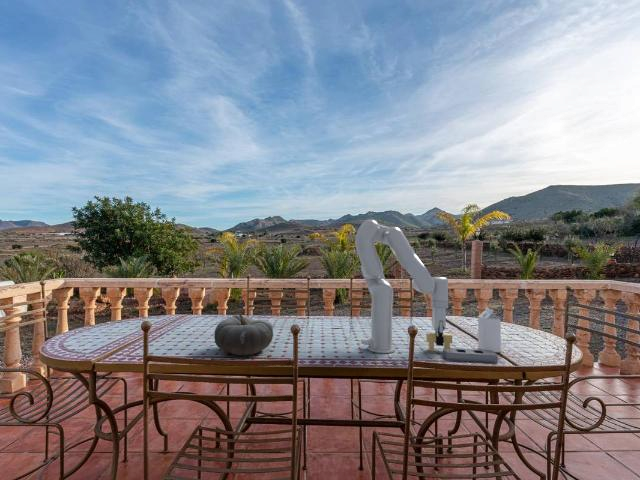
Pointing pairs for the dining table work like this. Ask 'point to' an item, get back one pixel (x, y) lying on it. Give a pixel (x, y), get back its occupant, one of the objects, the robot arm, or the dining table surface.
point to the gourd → (243, 335)
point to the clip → (432, 338)
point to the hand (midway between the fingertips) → (439, 343)
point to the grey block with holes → (470, 355)
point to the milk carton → (489, 331)
